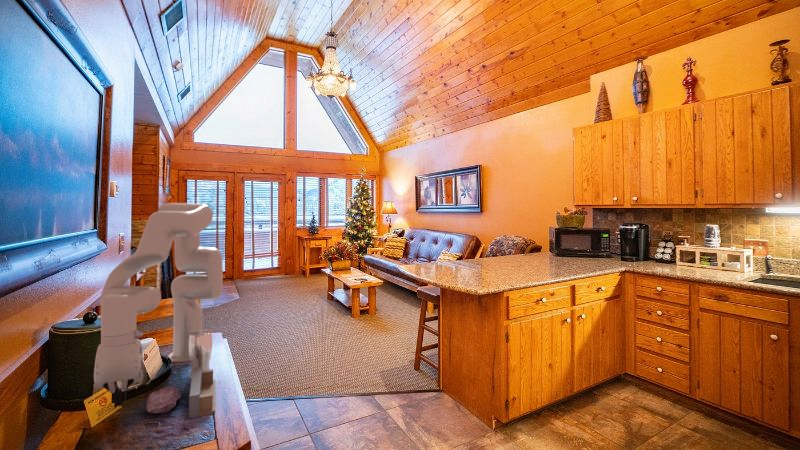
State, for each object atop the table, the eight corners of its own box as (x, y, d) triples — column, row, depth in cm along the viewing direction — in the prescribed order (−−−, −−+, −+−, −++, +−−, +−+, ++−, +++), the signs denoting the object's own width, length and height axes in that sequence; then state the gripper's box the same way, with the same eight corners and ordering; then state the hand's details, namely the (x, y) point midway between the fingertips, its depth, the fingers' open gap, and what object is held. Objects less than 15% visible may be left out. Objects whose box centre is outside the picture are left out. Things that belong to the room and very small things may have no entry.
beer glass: (198, 382, 115) (199, 337, 115) (183, 378, 117) (184, 334, 117) (216, 373, 121) (217, 330, 121) (201, 370, 124) (202, 328, 124)
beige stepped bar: (193, 386, 112) (193, 367, 112) (215, 382, 115) (215, 364, 115) (188, 418, 95) (189, 396, 95) (214, 413, 98) (215, 391, 98)
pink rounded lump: (141, 423, 92) (141, 403, 92) (150, 398, 105) (150, 381, 105) (177, 415, 96) (177, 397, 96) (182, 392, 109) (182, 376, 108)
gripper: (154, 330, 102) (154, 392, 103) (88, 337, 95) (88, 403, 96) (150, 339, 96) (150, 405, 96) (78, 347, 89) (78, 418, 89)
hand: (119, 404), depth 96 cm, fingers closed
